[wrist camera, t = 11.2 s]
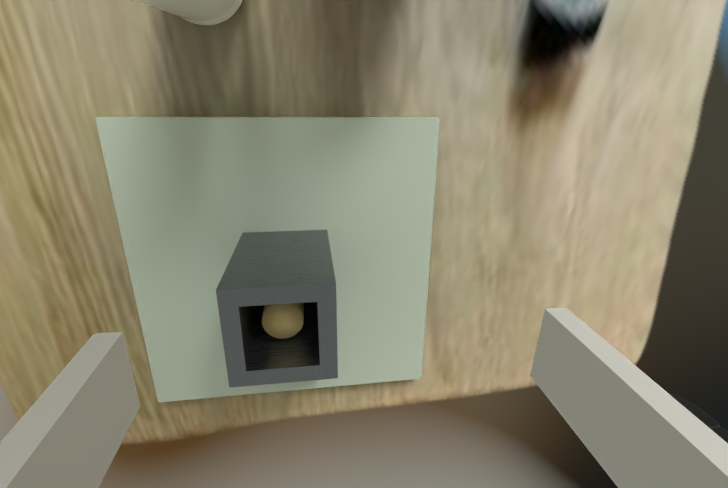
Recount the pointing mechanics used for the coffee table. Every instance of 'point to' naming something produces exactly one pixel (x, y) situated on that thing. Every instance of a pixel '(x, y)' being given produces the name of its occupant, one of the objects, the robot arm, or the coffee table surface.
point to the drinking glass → (197, 9)
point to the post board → (268, 214)
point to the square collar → (279, 286)
